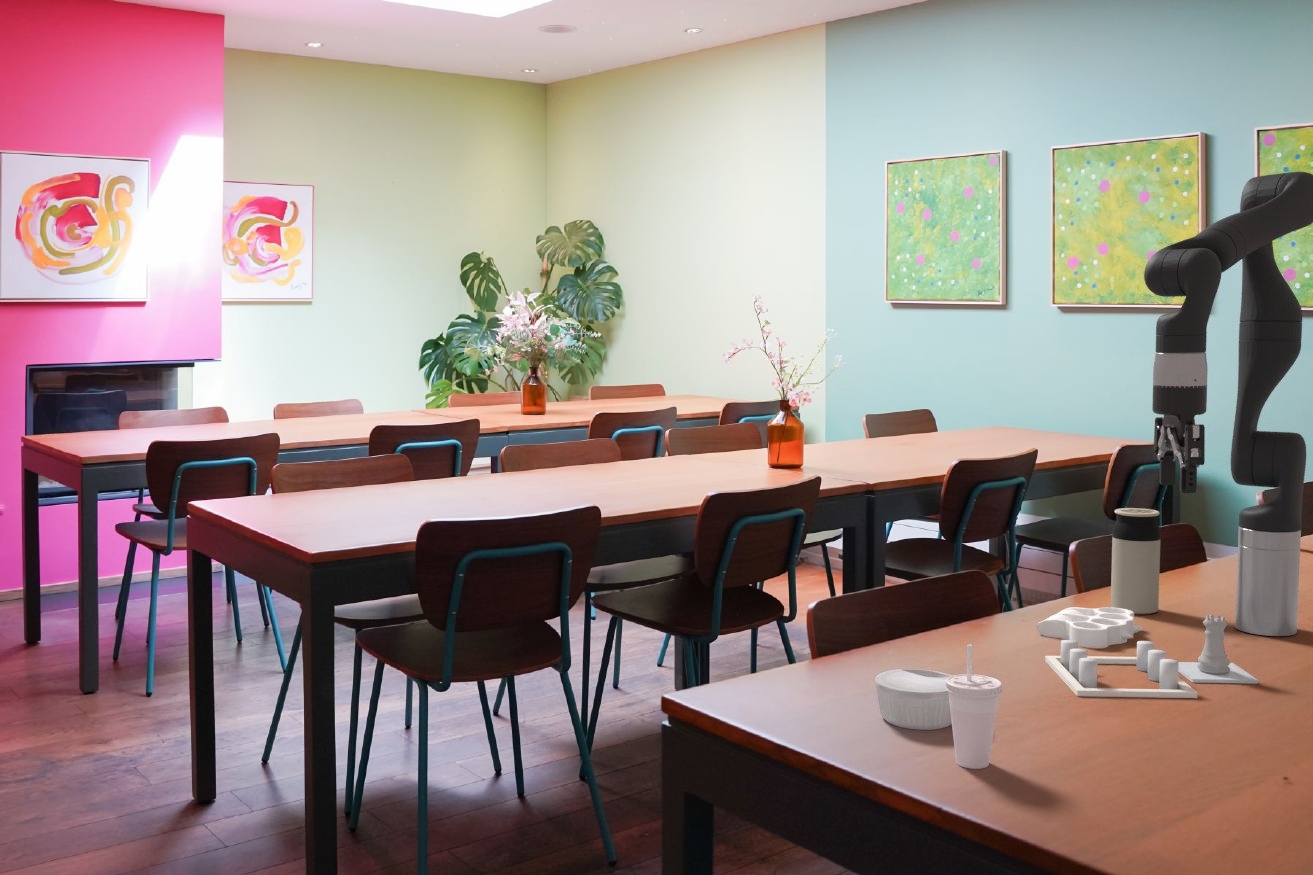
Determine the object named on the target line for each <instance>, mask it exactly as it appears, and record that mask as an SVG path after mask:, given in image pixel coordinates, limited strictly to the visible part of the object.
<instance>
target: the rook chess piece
mask: <svg viewBox="0 0 1313 875" xmlns="http://www.w3.org/2000/svg"><path fill="white" fill-rule="evenodd" d="M1214 616H1215V615H1214V614H1209V615H1208V614H1207V615H1205V619H1204V620H1203V621H1202V623H1203V626H1205V631H1204V635H1205V642H1204V646H1203V649H1202V651H1201V653H1200V655H1199V656H1198V658H1197V661H1198V662H1199V663H1200V664H1198V665H1197V667H1198V669H1199V670H1200V671H1202V672H1205V673H1209V674H1227V673H1228V672H1229V671H1230V668H1229V667H1228V665H1229V664H1230V663H1231V661H1230V659H1229V657H1228V655H1227V653H1226V650H1225V643H1224V641H1225V640H1224V639H1225V636H1226V633H1225V628H1226V627H1227V626H1228V623H1227V621H1226V617H1225V616H1221V615H1218V614H1217V615H1216V617H1214Z"/></svg>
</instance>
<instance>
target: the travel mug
mask: <svg viewBox="0 0 1313 875" xmlns="http://www.w3.org/2000/svg"><path fill="white" fill-rule="evenodd" d="M1114 513H1115V516H1116V521H1115V523H1114V525H1113V527H1112V539H1111V540H1112V541H1111V545H1112V546H1111V577H1110V578H1111V580H1110V581H1111V583H1110V607H1112V608H1122V609H1127V610H1130V611H1132V612H1134V615H1145V616H1146V615H1151V614H1154V613H1156V612H1157V613H1158V611H1159V602H1160V601H1159V597H1160V596H1159V595H1160V571H1161V569H1160V566H1161V565H1160V563H1161V560H1160V559H1161V537H1162V536H1161V531H1162V530H1161V528H1160V527H1159V524H1158V517H1159V515H1160V511H1158V510H1155V509H1151V508H1140V507H1138V508H1137V507H1136V508H1135V507H1124V508H1120V507H1119V508H1116V509H1114Z"/></svg>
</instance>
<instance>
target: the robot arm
mask: <svg viewBox="0 0 1313 875" xmlns="http://www.w3.org/2000/svg"><path fill="white" fill-rule="evenodd" d="M1239 208H1240V209H1239V212H1236V213H1234V214H1232V215H1229V216H1226V217H1224V218H1222V219H1219V220H1217V221H1215V222H1213V223H1212V224H1210V225H1209V226H1207V227H1206V228H1204V229H1203V230H1202V231H1200V232H1198V233H1197V234H1196V235H1195V236H1192V237H1190V238H1185V239H1184V240H1183V239H1182V240H1180V241H1177V242H1175V243H1171V244H1170V245H1167V246H1165V247H1163V248H1161V249H1159V250H1158V251H1156V252H1155V253H1154V254H1153V255H1152V256H1151V257H1150V258H1149V259H1148V261H1147V263H1146V265H1145V268H1144V272H1143V279H1144V283H1145V285H1146V287H1147V289H1148V290H1149V291H1150V292H1151V293H1152V294H1154V295H1156V296H1159V297H1166V298H1170V297H1185V298H1184V301H1183V303H1182V306H1181V307H1180V308H1179V309H1178V310H1175V311H1172V312H1168V313H1164V314H1162V315H1160V316H1159V317H1158V318H1157V321H1156V325H1155V326H1156V327H1155V355H1154V356H1155V357H1154V362H1153V369H1152V370H1153V371H1152V372H1153V373H1152V408H1151V410H1152V412H1153V414H1157V415H1161V416H1160V417H1158V416H1157V417H1155V419H1154V429H1153V430H1154V434H1153V435H1154V437H1153V449H1152V450H1153V455H1154V456H1156V457H1157V461H1159V476H1158V477H1159V479H1158V482H1159V484H1160V485H1162V486H1174V485H1175V484H1176V472H1177V471H1176V470H1177V468H1176V466H1177V462H1176V461H1175V460H1176V459H1177V458H1178V461H1179V466H1180V468H1179V491H1180V492H1181V494H1194V493H1196V492H1197V488H1198V487H1197V485H1198V484H1197V481H1198V476H1197V475H1198V469H1199V468H1200V466H1204V465H1205V462H1206V461H1205V459H1206V458H1205V453H1206V452H1205V451H1206V448H1205V445H1206V444H1205V441H1206V440H1205V433H1206V431H1205V429H1206V427H1205V425H1204V424H1201V423H1200V424H1196V420H1195V419H1196V418H1195V417H1196V416H1197V415H1198V416H1200V415H1202V416H1203V415H1204V414H1206V412H1207V400H1208V398H1207V397H1208V361H1207V360H1208V359H1207V338H1208V337H1207V333H1208V332H1207V328H1208V323H1209V319H1210V316H1211V313H1212V309H1213V306H1214V301H1215V298H1216V296H1217V293H1218V289H1219V287H1220V283H1221V280H1222V273H1224V272H1226V271H1227V270H1229V269H1230V268H1231V267H1233V266H1234V265H1236V264H1237V263H1238V262H1240V261H1242V262H1241V263H1242V266H1241V268H1242V272H1241V273H1242V275H1241V276H1242V277H1241V278H1242V279H1241V298H1240V300H1241V302H1240V312H1239V313H1240V315H1239V325H1238V326H1239V327H1238V366H1237V367H1238V370H1237V373H1238V374H1237V376H1238V378H1237V397H1236V405H1235V406H1236V407H1235V414H1234V415H1235V416H1234V422H1233V429H1232V440H1231V450H1230V472H1231V477H1232V479H1233V481H1234V483H1235V484H1237V485H1240V486H1248V487H1259V488H1260V487H1263V488H1274V489H1277V488H1278V489H1279V492H1278V495H1277V496H1276V497H1274V498H1273V499H1271V500H1269V501H1267V502H1264V503H1262V504H1256V505H1251V506H1248V507H1244V508H1243V509H1241V510H1240V511H1239V514H1238V531H1237V532H1238V535H1237V536H1238V537H1237V564H1236V566H1237V567H1236V570H1237V571H1236V594H1235V597H1236V598H1235V621H1234V627H1235V629H1237V631H1238V630H1239V631H1241V632H1244V633H1249V634H1251V635H1253V634H1254V635H1257V636H1258V635H1259V636H1270V637H1289V636H1293V635H1296V634H1297V632H1298V614H1299V611H1298V610H1299V592H1300V589H1299V588H1300V564H1301V537H1302V536H1301V534H1302V517H1303V516H1302V513H1303V494H1304V483H1305V474H1306V466H1307V444H1306V440H1305V438H1304V437H1303V435H1302V434H1300V433H1299V432H1291V431H1269V430H1268V431H1265V430H1258V423H1259V420H1260V416H1261V413H1262V410H1263V408H1264V406H1265V404H1266V402H1267V401H1268V399H1269V397H1270V396H1271V394H1272V393H1273V392H1274V390H1275V389H1276V387H1277V386H1278V384H1280V382H1281V381H1282V380H1283V379H1284V377H1285V376H1286V375H1287V373H1288V372H1289V371H1290V370H1291V368H1292V367H1293V365H1294V364H1295V362H1296V361H1297V359H1298V357H1299V356H1300V353H1301V348H1302V334H1303V310H1302V307H1301V305H1300V302H1299V300H1298V298H1297V297H1296V295H1295V293H1294V291H1293V290H1292V289H1291V287H1290V286H1289V284H1288V282H1287V281H1286V279H1285V277H1284V276H1283V274H1282V272H1281V271H1280V269H1279V267H1278V264H1277V262H1276V259H1275V253H1274V246H1273V245H1274V244H1273V243H1274V242H1273V241H1275V240H1277V239H1279V238H1282V237H1283V236H1286V235H1287V234H1290V233H1292V232H1296V231H1298V230H1300V229H1301V230H1302V229H1303V228H1306V227H1308V226H1310V225H1312V224H1313V174H1312V173H1310V172H1306V171H1290V172H1289V171H1288V172H1281V173H1275V174H1266V175H1259V176H1254V177H1252V178H1250V179H1248V181H1246V183H1245V184H1244V186H1243V189H1242V192H1241V197H1240V206H1239Z"/></svg>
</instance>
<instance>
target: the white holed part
mask: <svg viewBox="0 0 1313 875" xmlns="http://www.w3.org/2000/svg"><path fill="white" fill-rule="evenodd" d="M1036 624H1037V625H1036V631H1037V632H1038V634H1040V635H1042V636H1043V637H1049V638H1055V639H1056V638H1057V639H1062V640H1074V641H1077V642H1078V647H1081V648H1087V649H1105V648H1106V649H1107V648H1108V647H1109V646H1112V645H1120V644H1121V645H1122V644H1125V643H1127V642H1128V639H1134V634H1136V633H1139V632H1141V631H1143V630H1145V629H1144V628H1142V627H1141V626H1139V625H1137V624H1136V623H1135V614H1134V612H1132V611H1130V610H1127V609H1122V608H1112V607H1111V606H1110V607H1098V608H1087V607H1078V606H1077V607H1076V606H1075V607H1066V608H1064V609H1062V610H1060V611H1059V612H1058V613H1054V614H1053V615H1051V616H1048V618H1046V619H1044V620H1041V621H1039V622H1037V623H1036Z"/></svg>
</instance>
